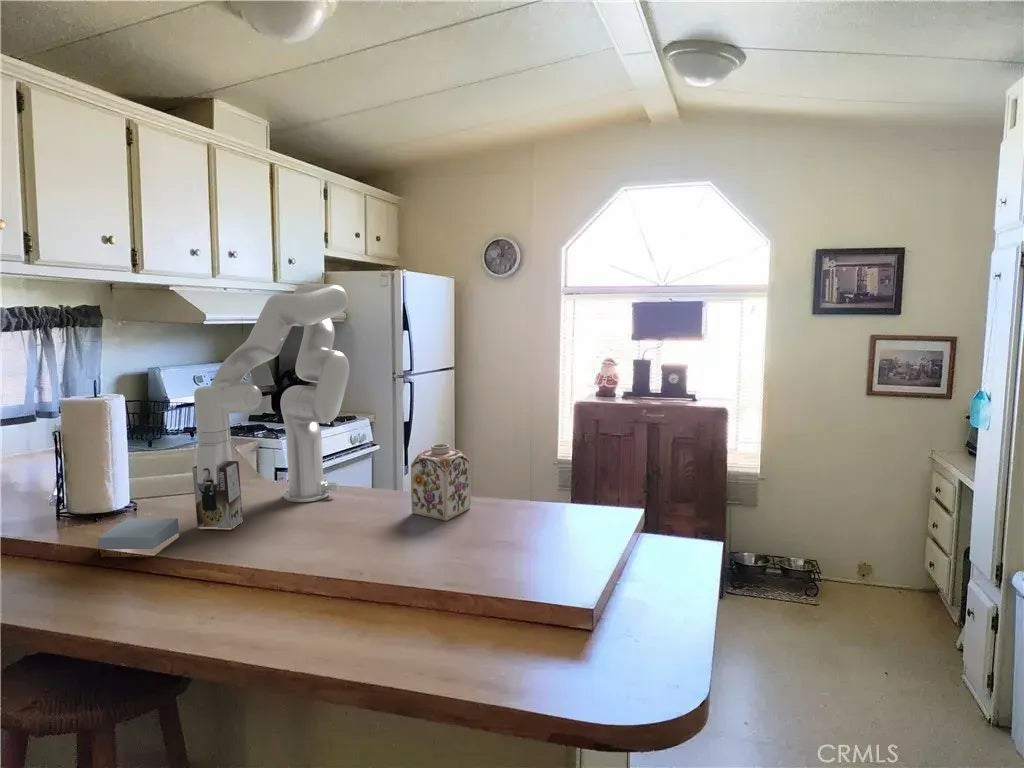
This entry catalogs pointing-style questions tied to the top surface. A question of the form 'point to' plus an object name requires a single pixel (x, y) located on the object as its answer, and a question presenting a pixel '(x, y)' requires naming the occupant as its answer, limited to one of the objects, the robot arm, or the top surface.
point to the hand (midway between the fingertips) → (218, 503)
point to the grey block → (139, 533)
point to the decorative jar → (440, 483)
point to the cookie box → (221, 499)
